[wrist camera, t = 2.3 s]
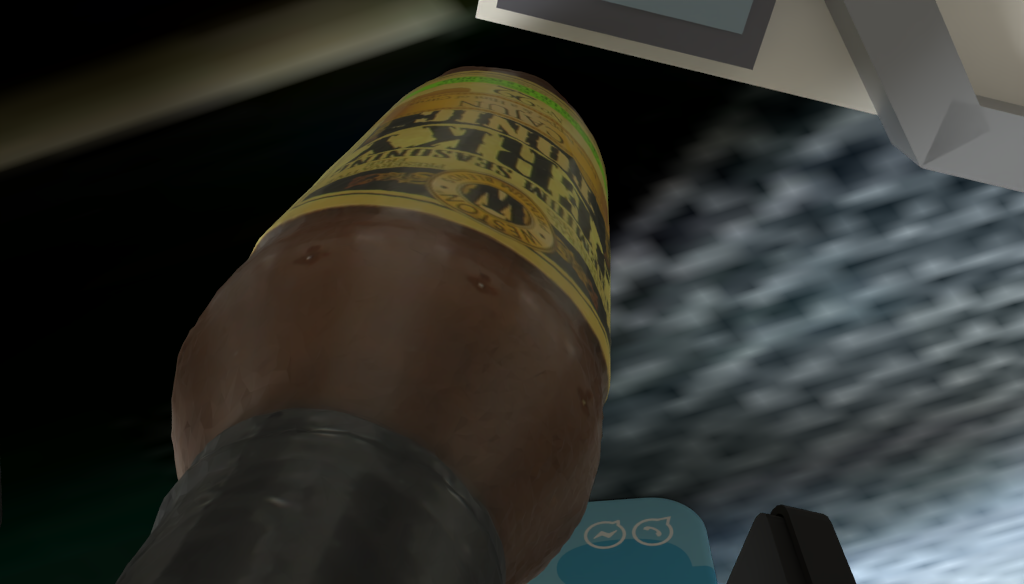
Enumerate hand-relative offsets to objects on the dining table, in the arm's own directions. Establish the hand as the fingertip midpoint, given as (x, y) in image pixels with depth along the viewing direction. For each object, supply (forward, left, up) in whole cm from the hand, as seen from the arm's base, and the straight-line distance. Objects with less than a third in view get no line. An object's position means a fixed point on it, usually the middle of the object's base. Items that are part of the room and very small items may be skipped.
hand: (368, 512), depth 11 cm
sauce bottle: (0, 0, -15) cm, 15 cm away
